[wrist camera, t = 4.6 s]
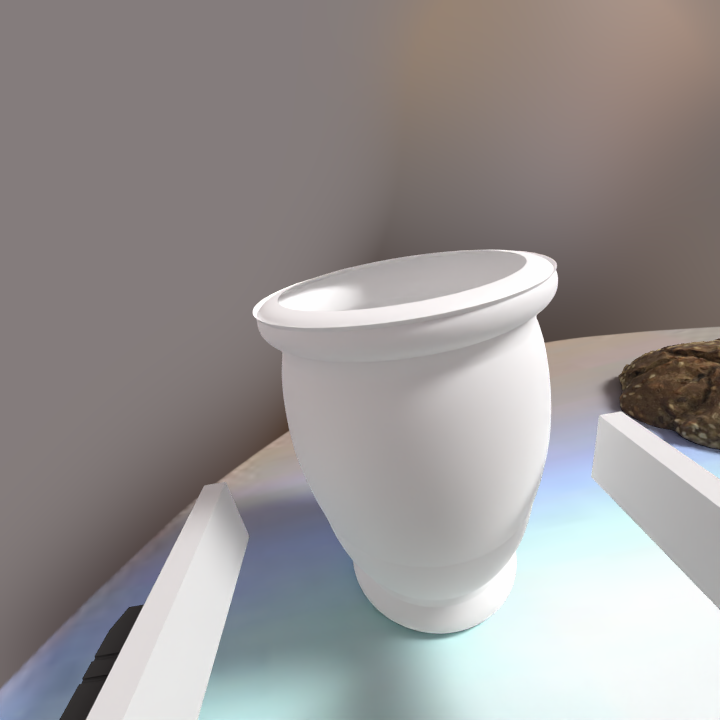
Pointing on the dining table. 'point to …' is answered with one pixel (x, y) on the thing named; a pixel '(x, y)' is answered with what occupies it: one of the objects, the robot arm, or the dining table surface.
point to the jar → (421, 420)
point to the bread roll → (677, 390)
